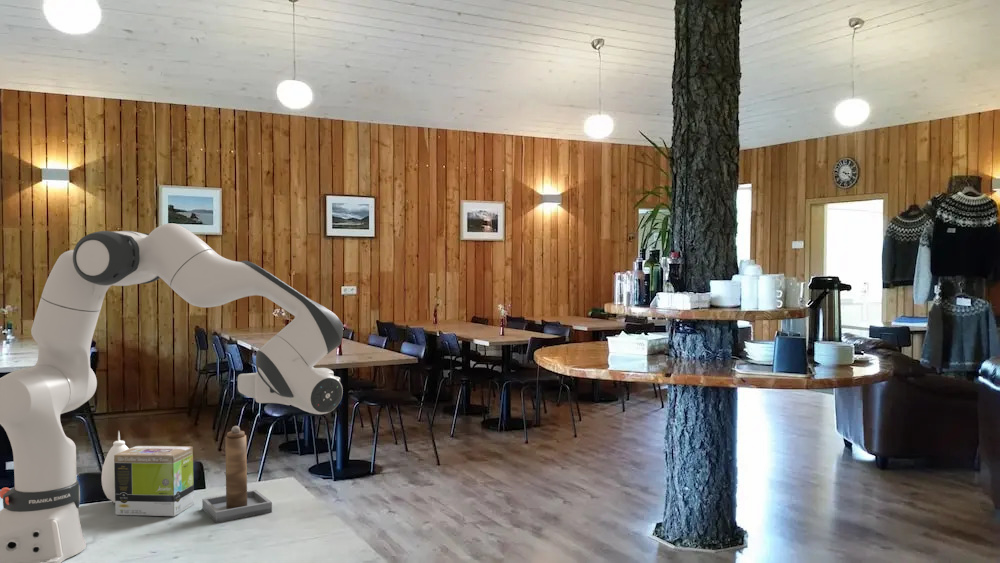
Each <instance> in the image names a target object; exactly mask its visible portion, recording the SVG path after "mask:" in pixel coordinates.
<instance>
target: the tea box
mask: <svg viewBox="0 0 1000 563" xmlns="http://www.w3.org/2000/svg"><path fill="white" fill-rule="evenodd" d="M193 449H194V447H193V446H191V445H189V446H188V445H186V446H184V445H181V446H180V445H178V446H177V445H135V446H133V447H130V448H129V449H128V450H125V451H123V452H121V453H118V454H116V455H114V474H115V502H114V503H115V504H114V506H115V510H114V511H115V515H116V516H117V515H118V516H120V515H121V516H149V517H150V516H151V517H152V516H153V517H155V516H157V517H158V516H159V517H176V516H177V515H179V514H181V513H182V512H185V510H188V508H189V509H190V507H192V506H193V505H194V499H195V496H194V492H195V490H194V487H195V486H194V455H193V454H194V453H193V451H194V450H193Z"/></svg>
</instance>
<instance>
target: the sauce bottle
mask: <svg viewBox="0 0 1000 563" xmlns="http://www.w3.org/2000/svg"><path fill="white" fill-rule="evenodd" d="M112 444H113V445H112V446H111V447H110V449H109V450H108V452H107V454H106V457H105V459H104V461H103V462H104V463H103V466H102V469H101V486H102V490H103V493H104V495H105V497H106V498H107V499H108V500H111V502H113V503H115V474H114V455H116V454H118V453H121V452H123V451H125V450H128V449H130V448H129V447H128V446H127V445H126V441H125V440H121V434H120V430H118V431H117V440H115V441H113V443H112Z"/></svg>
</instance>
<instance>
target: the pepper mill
mask: <svg viewBox="0 0 1000 563" xmlns="http://www.w3.org/2000/svg"><path fill="white" fill-rule="evenodd" d="M224 439H225V440H224V441H225V451H224V452H225V495H226V508H227V509H232V508H237V507H243V506H247V491H248V466H247V464H248V463H247V462H248V460H247V458H248V457H247V455H248V453H247V452H248V451H247V445H248V444H247V434H245V431H244V430H241V427H240V426H239V425H234V426H232V428H231V431H227V433H226V436H225V437H224Z"/></svg>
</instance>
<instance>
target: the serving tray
mask: <svg viewBox="0 0 1000 563" xmlns="http://www.w3.org/2000/svg"><path fill="white" fill-rule="evenodd" d="M202 510H203V511H204V512H205V513H206V514H207V515H208V516H209V517H210V518H211V519H212V520H213V521H214V522H215V523H216V524H217V523H222V522H228V521H233V520H237V519H238V518H239V519H243V518H247V517H253V516H258V515H265V514H270V513H272V512H273V503H272V501H271V500H270V499H268V498H267V497H266V496H264V495H263V494H262V493H261V492H260V491H258V490H257V489H254V490H253V489H252V490H247V506H243V507H237V508H232V509H227V508H226V494H224V495H217V496H212V497H207V498H202ZM239 519H238V520H239Z"/></svg>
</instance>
